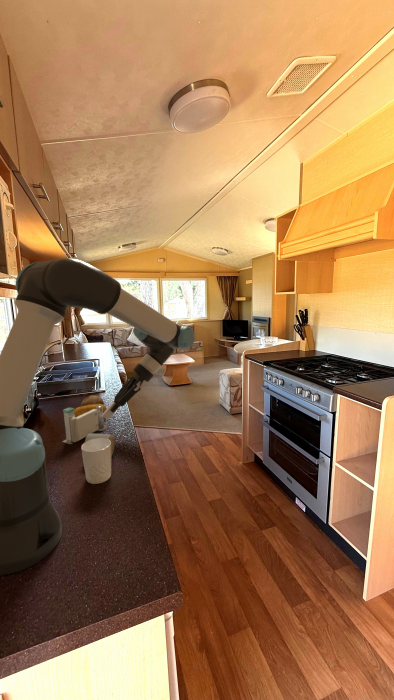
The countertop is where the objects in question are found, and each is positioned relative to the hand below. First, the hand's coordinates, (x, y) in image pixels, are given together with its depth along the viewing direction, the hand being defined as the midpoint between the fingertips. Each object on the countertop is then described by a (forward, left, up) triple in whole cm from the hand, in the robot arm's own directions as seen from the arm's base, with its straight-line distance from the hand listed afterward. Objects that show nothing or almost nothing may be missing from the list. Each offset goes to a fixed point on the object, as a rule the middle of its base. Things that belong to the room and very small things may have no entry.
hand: (105, 417), depth 111 cm
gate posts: (-7, +3, -7) cm, 10 cm away
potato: (-4, +18, -7) cm, 20 cm away
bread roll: (-3, +32, -7) cm, 33 cm away
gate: (-7, +2, -6) cm, 10 cm away
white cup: (-5, -27, -7) cm, 29 cm away
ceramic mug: (-3, -14, -7) cm, 16 cm away
